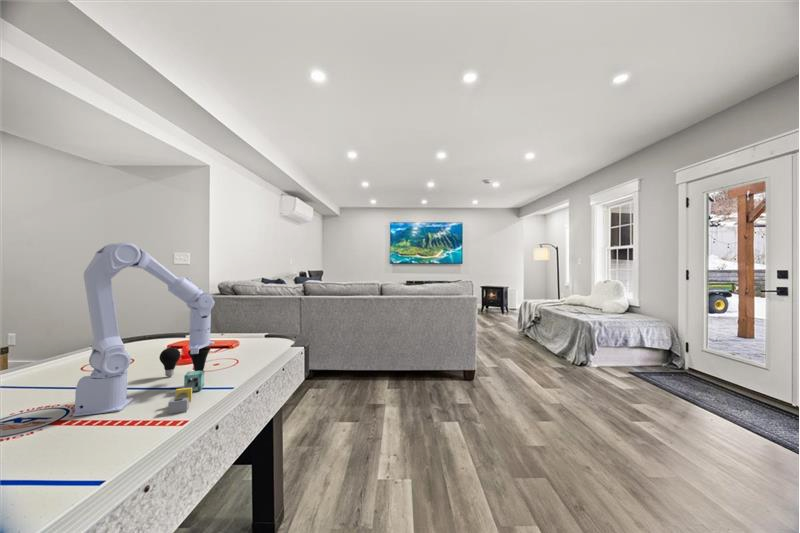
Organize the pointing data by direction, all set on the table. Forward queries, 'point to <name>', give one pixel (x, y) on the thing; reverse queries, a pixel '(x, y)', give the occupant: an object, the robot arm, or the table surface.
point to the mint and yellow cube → (195, 375)
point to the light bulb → (169, 360)
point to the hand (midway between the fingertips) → (199, 371)
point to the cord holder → (182, 398)
